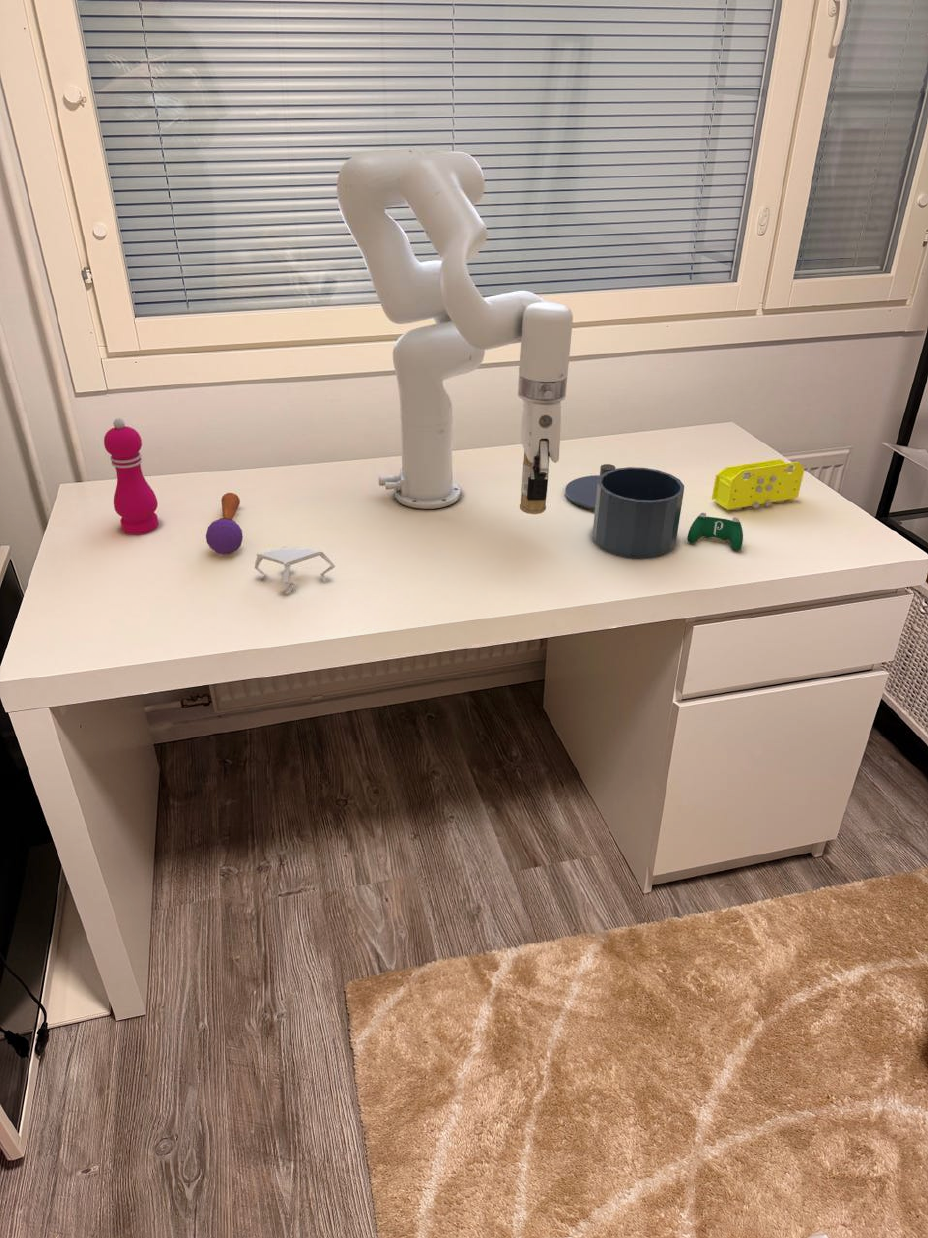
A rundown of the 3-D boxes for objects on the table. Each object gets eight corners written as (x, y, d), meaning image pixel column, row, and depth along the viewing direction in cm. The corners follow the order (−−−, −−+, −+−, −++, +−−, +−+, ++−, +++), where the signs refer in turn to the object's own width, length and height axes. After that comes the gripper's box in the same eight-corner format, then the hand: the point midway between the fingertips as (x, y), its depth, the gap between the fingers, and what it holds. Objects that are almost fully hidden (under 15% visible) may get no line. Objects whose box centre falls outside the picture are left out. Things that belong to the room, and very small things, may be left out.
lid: (573, 515, 163) (576, 484, 160) (558, 481, 176) (560, 452, 173) (655, 512, 164) (659, 482, 161) (633, 479, 177) (637, 450, 174)
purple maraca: (248, 487, 162) (242, 528, 145) (245, 518, 165) (240, 561, 147) (214, 483, 161) (205, 524, 143) (212, 514, 163) (203, 558, 146)
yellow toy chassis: (727, 514, 164) (735, 472, 159) (710, 502, 168) (717, 461, 164) (798, 502, 168) (808, 461, 164) (779, 490, 173) (788, 450, 168)
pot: (603, 560, 148) (609, 503, 143) (584, 522, 161) (589, 468, 155) (686, 557, 150) (695, 500, 144) (661, 519, 162) (669, 465, 156)
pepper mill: (170, 522, 159) (150, 415, 148) (142, 539, 153) (119, 428, 143) (139, 514, 161) (117, 408, 151) (110, 530, 156) (85, 421, 145)
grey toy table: (264, 600, 136) (261, 573, 134) (255, 575, 143) (251, 548, 140) (340, 587, 140) (338, 559, 137) (327, 563, 147) (325, 536, 144)
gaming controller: (739, 556, 154) (745, 524, 155) (741, 549, 150) (747, 516, 151) (686, 547, 156) (692, 516, 157) (686, 540, 153) (693, 508, 154)
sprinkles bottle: (551, 509, 150) (558, 434, 142) (533, 517, 147) (539, 441, 139) (531, 500, 152) (537, 426, 145) (513, 508, 150) (518, 433, 142)
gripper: (576, 405, 131) (565, 515, 141) (555, 369, 145) (546, 471, 155) (527, 405, 130) (519, 516, 140) (510, 369, 144) (504, 472, 154)
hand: (533, 491), depth 148 cm, fingers closed on sprinkles bottle, 4 cm apart
